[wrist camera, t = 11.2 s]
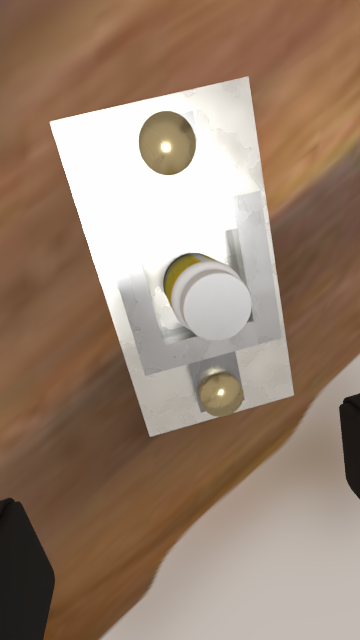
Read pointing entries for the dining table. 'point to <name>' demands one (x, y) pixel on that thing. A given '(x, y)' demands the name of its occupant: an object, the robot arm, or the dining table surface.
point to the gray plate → (180, 244)
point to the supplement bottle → (207, 296)
